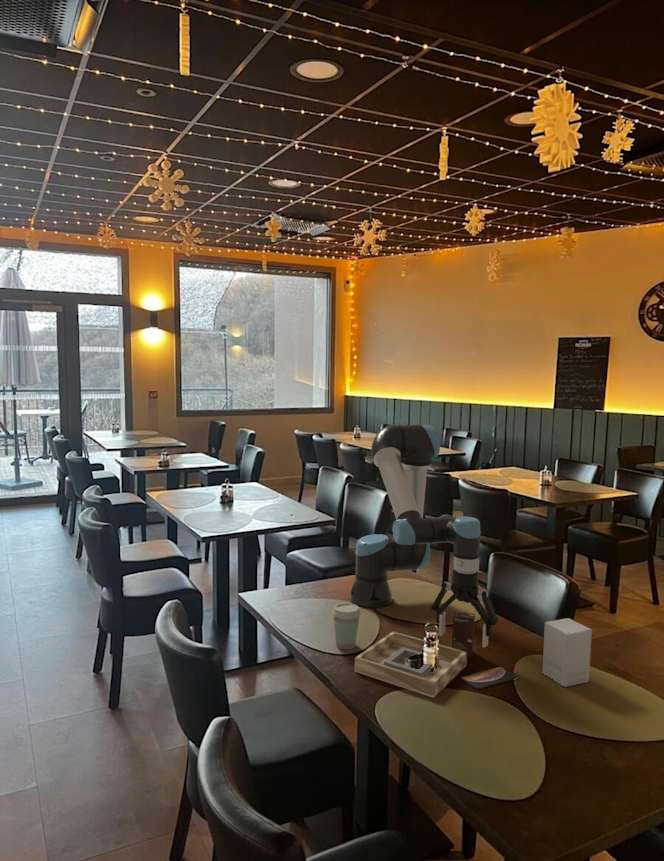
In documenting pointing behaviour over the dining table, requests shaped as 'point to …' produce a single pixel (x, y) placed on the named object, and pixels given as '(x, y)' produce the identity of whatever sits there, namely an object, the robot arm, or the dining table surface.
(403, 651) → the slate socket
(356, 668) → the birch tray
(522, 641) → the dining table surface
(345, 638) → the coffee cup
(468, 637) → the box
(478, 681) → the smartphone
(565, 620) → the supplement box
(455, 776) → the dining table surface
